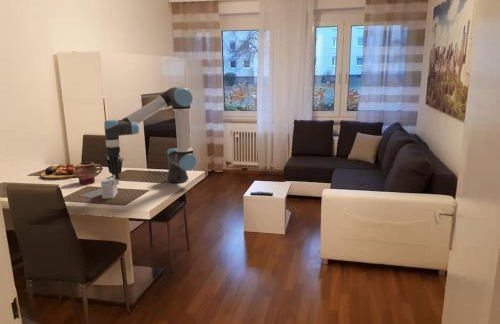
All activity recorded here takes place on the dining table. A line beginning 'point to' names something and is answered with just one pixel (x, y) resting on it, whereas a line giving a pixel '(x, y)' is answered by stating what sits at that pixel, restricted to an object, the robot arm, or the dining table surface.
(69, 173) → the wooden plate with food
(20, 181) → the dining table surface
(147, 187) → the dining table surface
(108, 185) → the light bulb box
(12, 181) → the dining table surface
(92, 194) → the mat
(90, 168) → the brown rounded vessel
